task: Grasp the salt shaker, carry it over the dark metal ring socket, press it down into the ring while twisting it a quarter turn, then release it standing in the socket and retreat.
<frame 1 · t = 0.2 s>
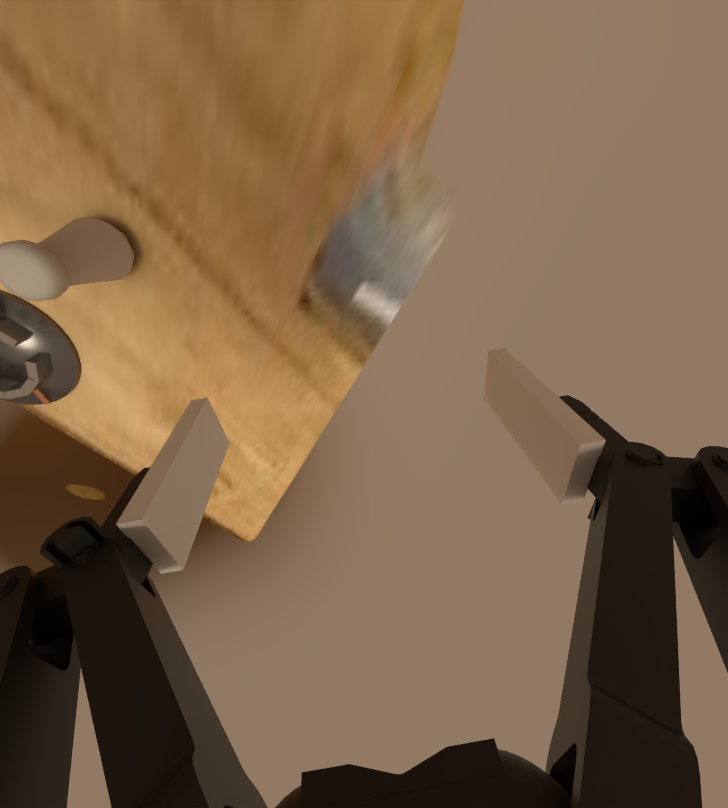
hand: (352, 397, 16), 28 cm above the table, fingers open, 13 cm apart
socket: (8, 349, 40), on the table
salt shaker: (113, 246, 35), on the table
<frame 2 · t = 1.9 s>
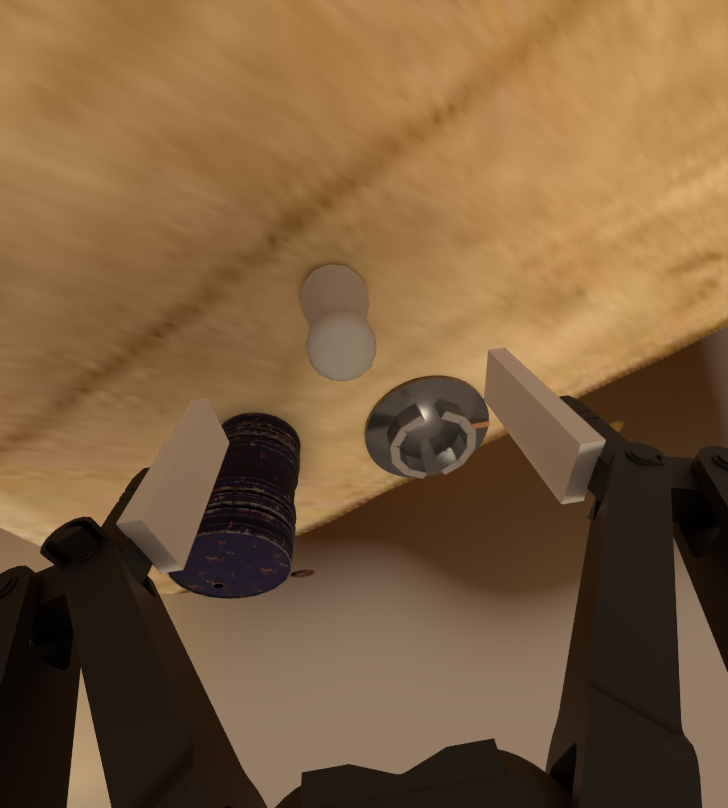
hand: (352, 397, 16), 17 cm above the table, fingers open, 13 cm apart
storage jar: (259, 444, 39), on the table
socket: (425, 429, 40), on the table
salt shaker: (334, 292, 30), on the table
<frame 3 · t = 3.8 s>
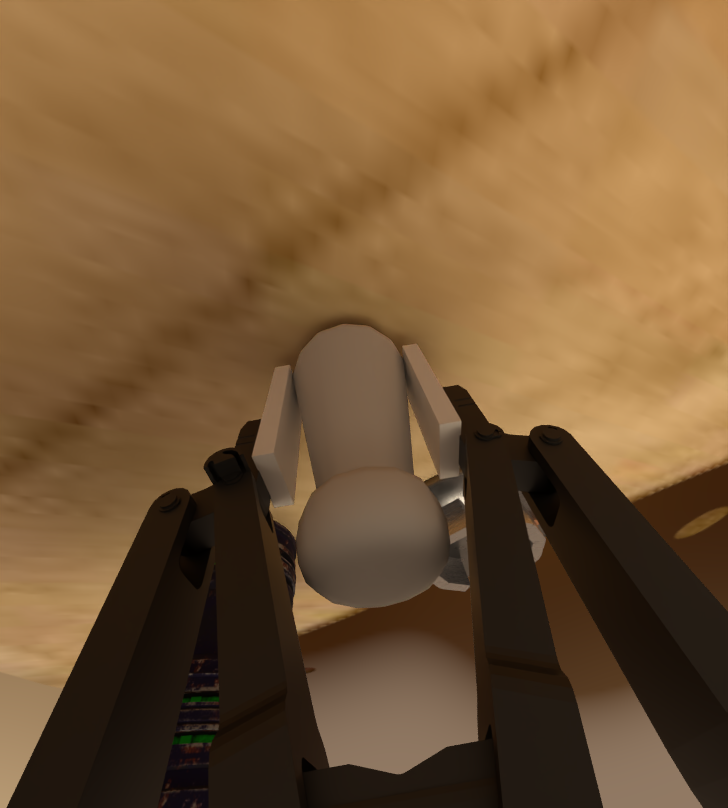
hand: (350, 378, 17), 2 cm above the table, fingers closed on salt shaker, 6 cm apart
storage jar: (239, 547, 28), on the table
socket: (468, 523, 29), on the table
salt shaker: (347, 357, 19), on the table, touching gripper
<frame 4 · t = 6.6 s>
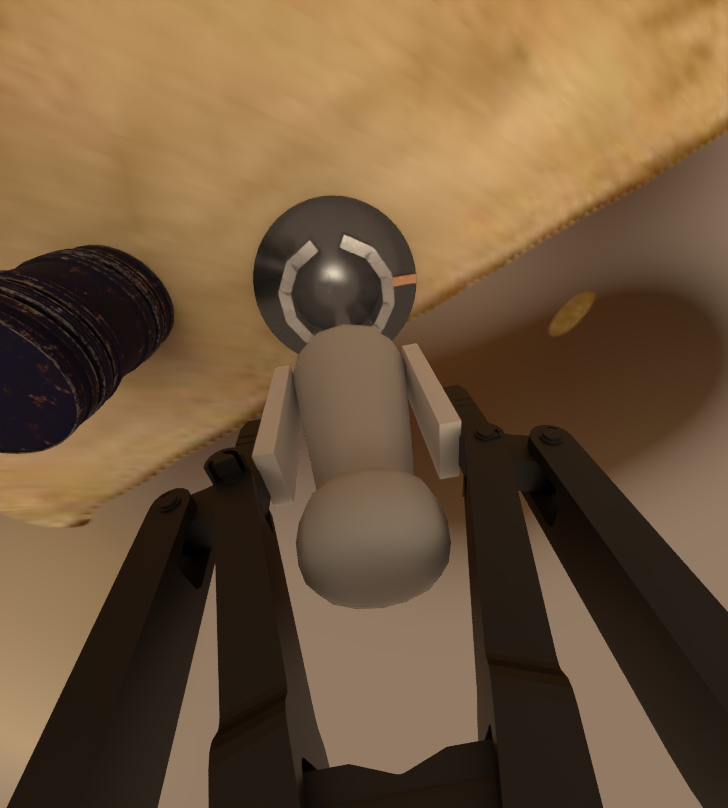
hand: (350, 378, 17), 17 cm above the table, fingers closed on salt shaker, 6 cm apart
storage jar: (117, 302, 30), on the table
socket: (336, 288, 31), on the table
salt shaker: (347, 357, 19), point 15 cm above the table, touching gripper
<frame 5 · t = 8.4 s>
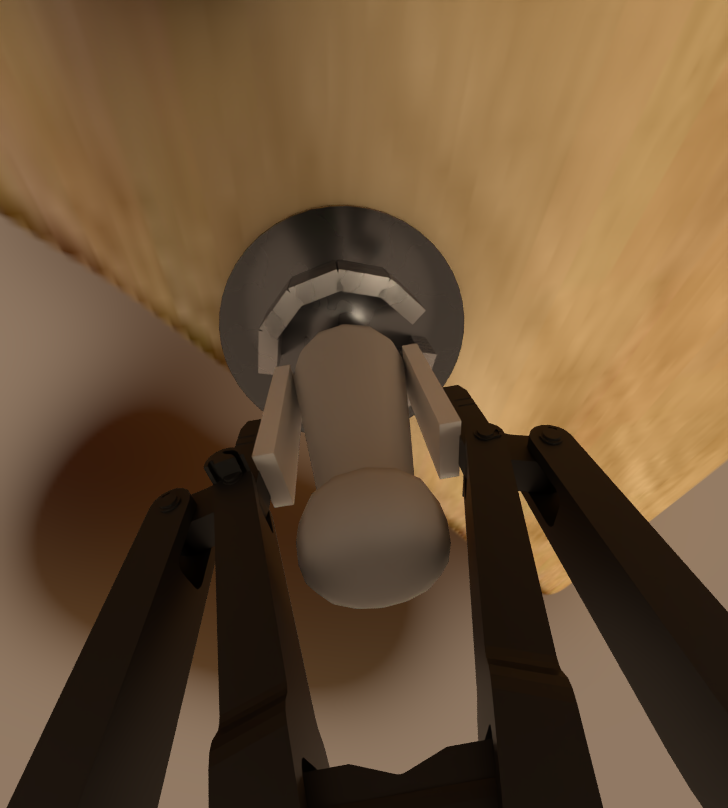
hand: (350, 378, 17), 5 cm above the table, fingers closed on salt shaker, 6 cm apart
socket: (345, 340, 21), on the table
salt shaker: (347, 357, 19), point 2 cm above the table, touching gripper
when the fingers open (4 cm above the table, at t = 9.6 s): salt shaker stays where it is, resting on socket.
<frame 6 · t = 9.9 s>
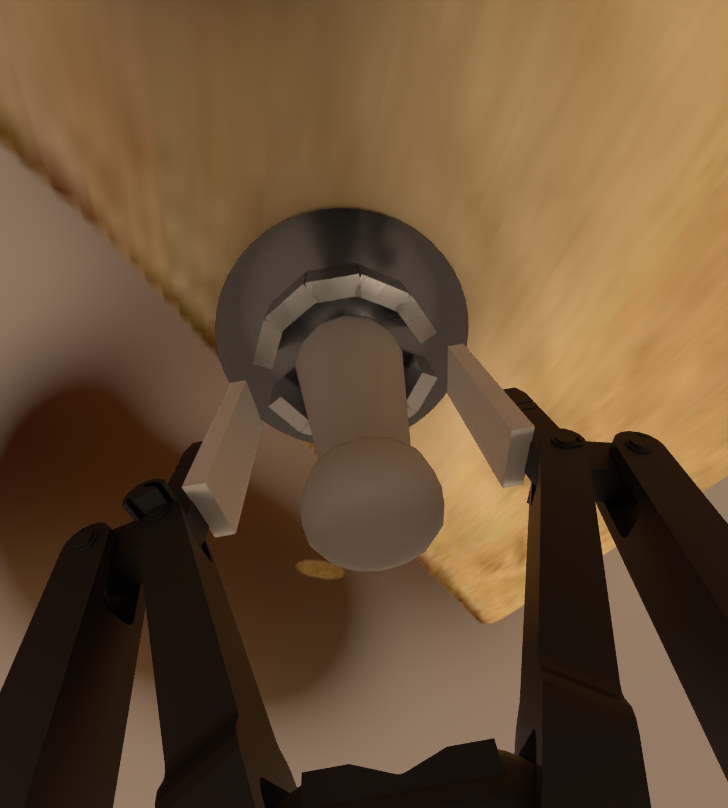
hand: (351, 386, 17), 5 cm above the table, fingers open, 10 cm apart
socket: (345, 346, 21), on the table
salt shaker: (347, 349, 20), point 1 cm above the table, touching socket
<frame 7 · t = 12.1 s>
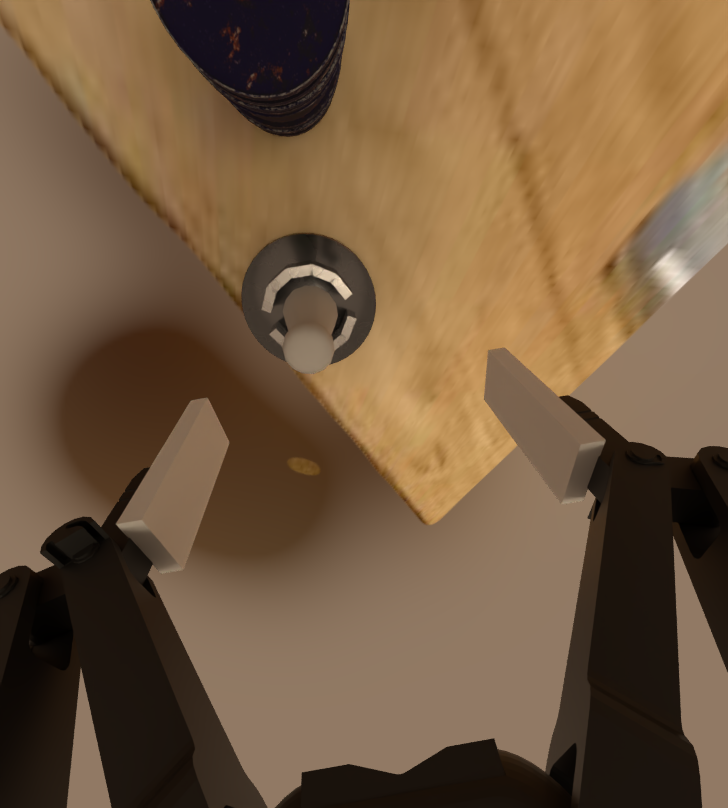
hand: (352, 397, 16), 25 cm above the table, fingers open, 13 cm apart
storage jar: (279, 63, 27), on the table
socket: (310, 305, 38), on the table
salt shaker: (311, 306, 38), point 1 cm above the table, touching socket
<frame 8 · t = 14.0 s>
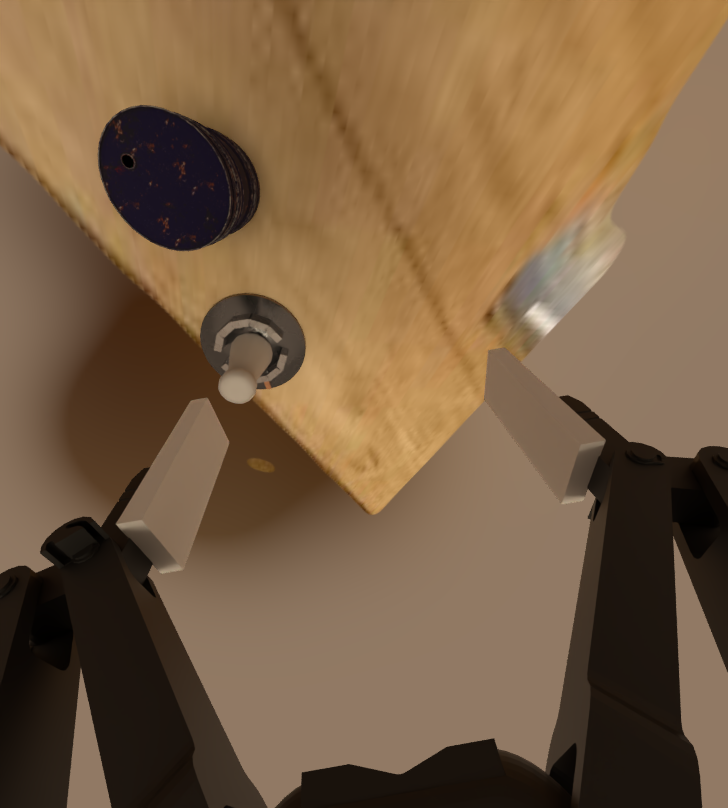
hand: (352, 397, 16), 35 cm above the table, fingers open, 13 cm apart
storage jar: (217, 184, 39), on the table
socket: (255, 344, 50), on the table
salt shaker: (254, 345, 49), point 1 cm above the table, touching socket
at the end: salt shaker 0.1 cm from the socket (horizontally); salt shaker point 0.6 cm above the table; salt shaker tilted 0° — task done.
